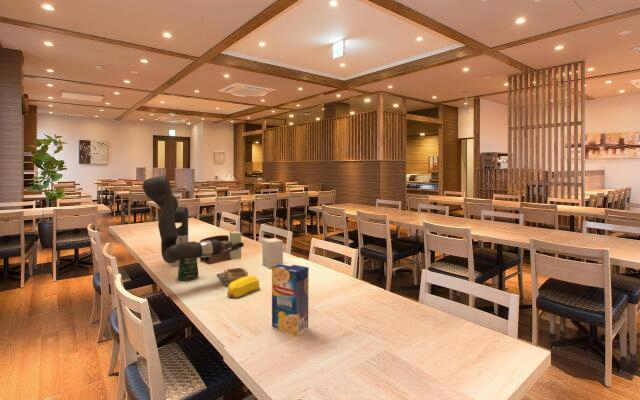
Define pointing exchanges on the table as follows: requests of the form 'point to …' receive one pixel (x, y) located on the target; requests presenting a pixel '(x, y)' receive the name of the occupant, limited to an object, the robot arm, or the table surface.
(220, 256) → the letter holder
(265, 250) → the supplement box
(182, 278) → the coffee jar
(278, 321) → the blue cracker box
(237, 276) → the well board
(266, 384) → the table surface
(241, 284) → the yellow banana
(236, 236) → the post
